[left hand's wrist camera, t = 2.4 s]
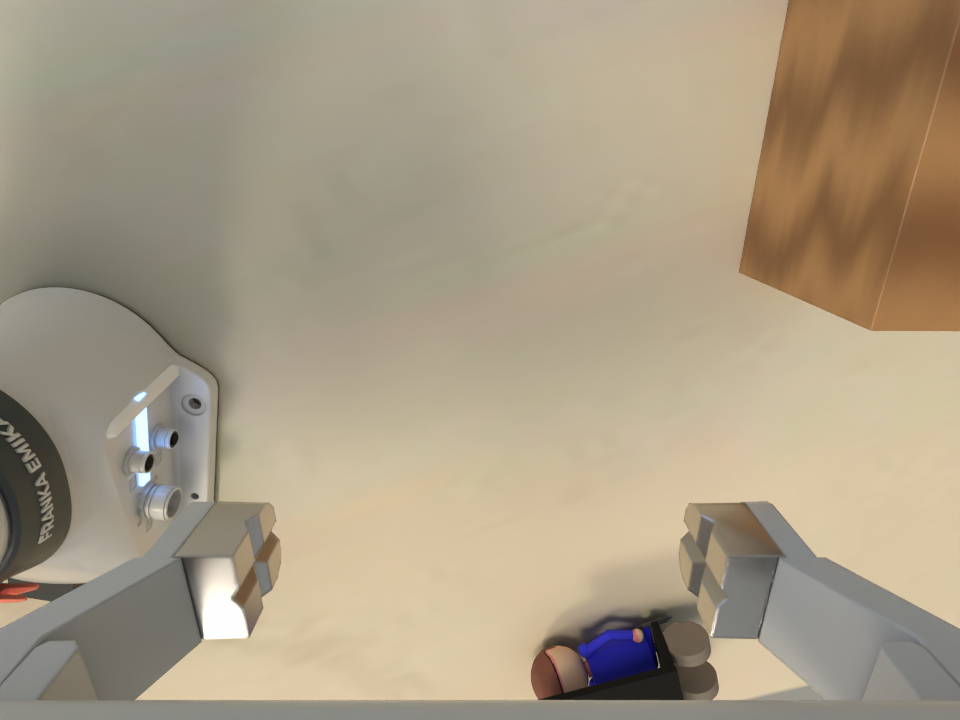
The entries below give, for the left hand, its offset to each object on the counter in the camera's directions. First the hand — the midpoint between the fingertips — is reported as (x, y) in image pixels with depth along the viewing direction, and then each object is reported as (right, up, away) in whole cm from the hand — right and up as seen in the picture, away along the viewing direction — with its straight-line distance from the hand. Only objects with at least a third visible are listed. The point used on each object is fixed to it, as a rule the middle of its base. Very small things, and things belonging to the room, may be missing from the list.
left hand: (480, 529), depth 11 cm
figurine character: (+12, -22, +38) cm, 45 cm away
